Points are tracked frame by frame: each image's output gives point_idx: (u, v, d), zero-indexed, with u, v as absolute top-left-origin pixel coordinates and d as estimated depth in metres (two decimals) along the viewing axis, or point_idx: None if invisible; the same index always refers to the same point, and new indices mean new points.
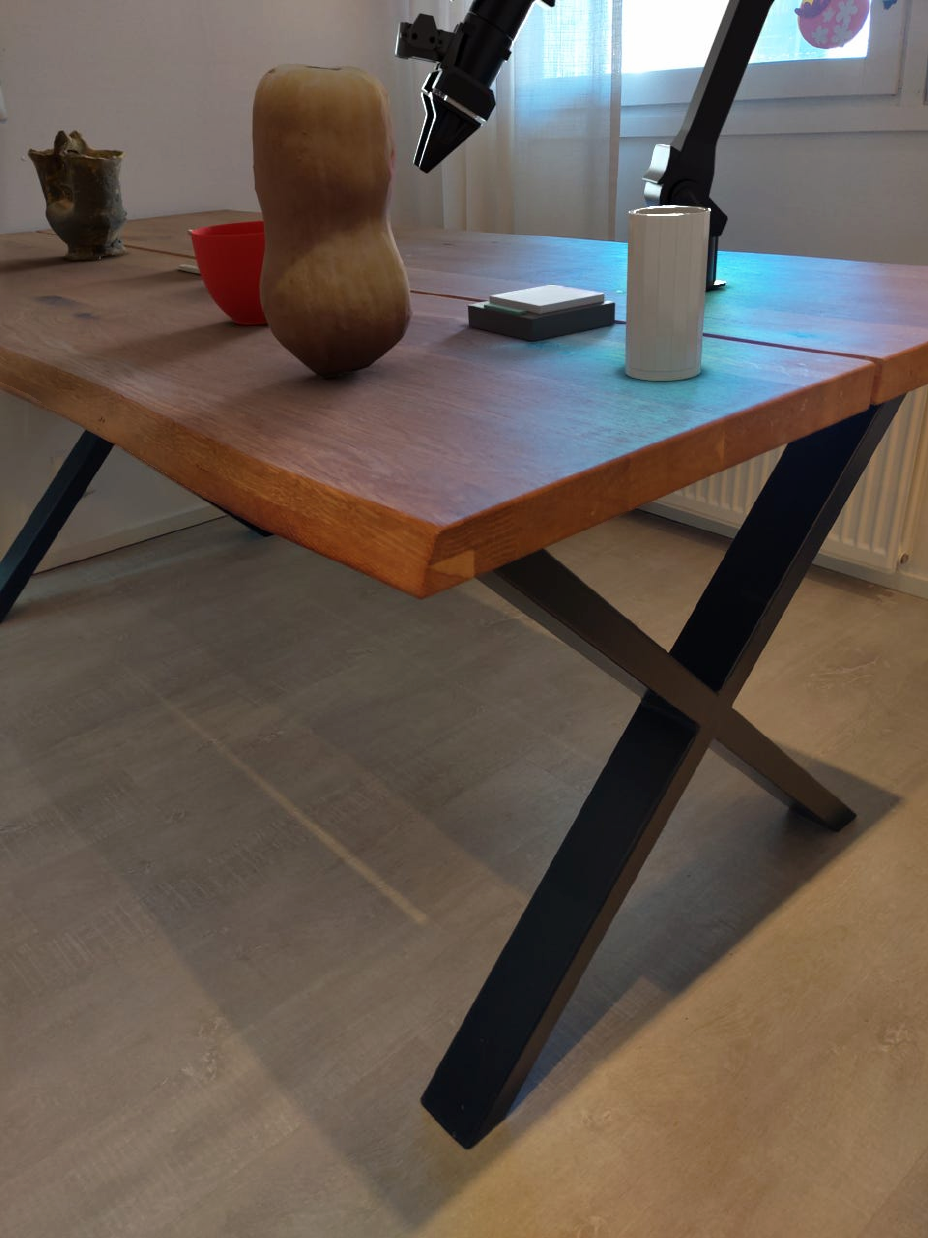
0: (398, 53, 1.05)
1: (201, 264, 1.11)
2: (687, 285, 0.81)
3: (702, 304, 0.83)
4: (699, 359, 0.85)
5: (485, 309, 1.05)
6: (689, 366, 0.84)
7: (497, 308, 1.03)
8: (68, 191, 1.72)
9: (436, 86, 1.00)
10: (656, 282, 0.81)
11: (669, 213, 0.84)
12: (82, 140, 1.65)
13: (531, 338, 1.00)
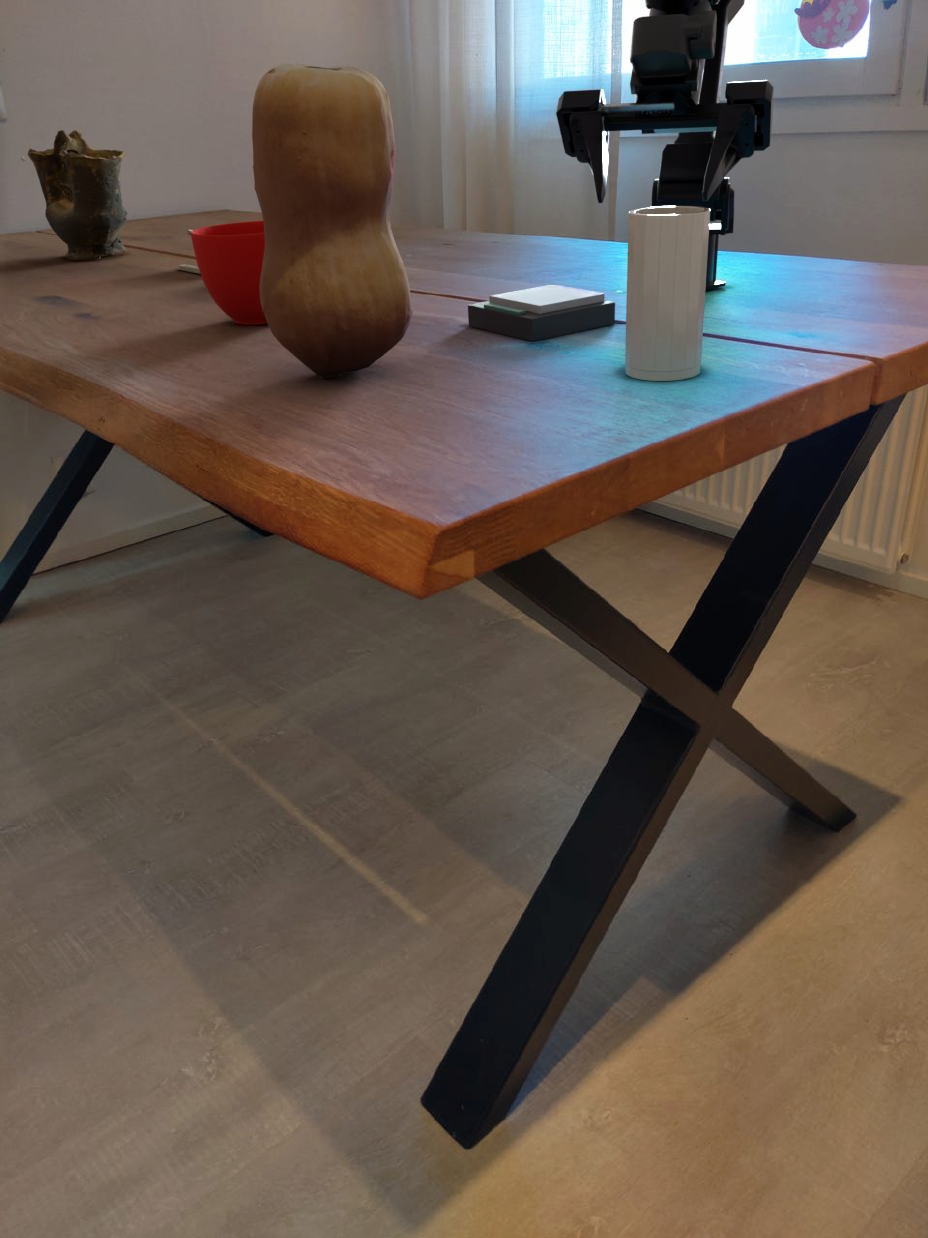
0: (682, 50, 0.83)
1: (201, 264, 1.11)
2: (687, 285, 0.81)
3: (702, 304, 0.83)
4: (699, 359, 0.85)
5: (485, 309, 1.05)
6: (689, 366, 0.84)
7: (497, 308, 1.03)
8: (68, 191, 1.72)
9: (766, 97, 0.85)
10: (656, 282, 0.81)
11: (669, 213, 0.84)
12: (82, 140, 1.65)
13: (531, 338, 1.00)
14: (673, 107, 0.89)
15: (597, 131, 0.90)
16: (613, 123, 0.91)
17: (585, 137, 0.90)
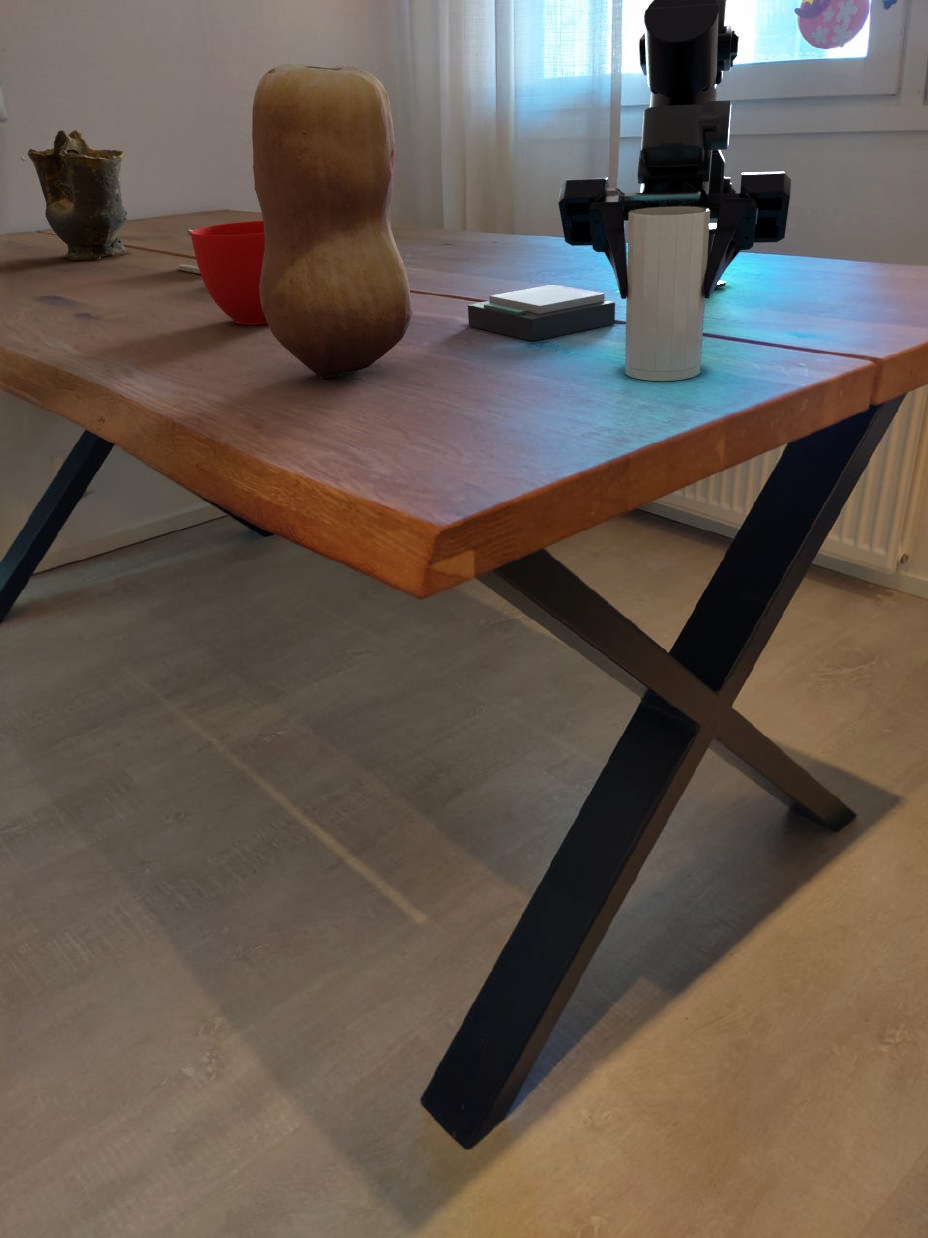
0: (697, 143, 0.78)
1: (201, 264, 1.11)
2: (687, 285, 0.81)
3: (702, 304, 0.83)
4: (699, 359, 0.85)
5: (485, 309, 1.05)
6: (689, 366, 0.84)
7: (497, 308, 1.03)
8: (68, 191, 1.72)
9: (785, 191, 0.80)
10: (656, 282, 0.81)
11: (669, 213, 0.84)
12: (82, 140, 1.65)
13: (531, 338, 1.00)
14: (698, 198, 0.83)
15: (618, 223, 0.84)
16: None
17: (605, 229, 0.84)
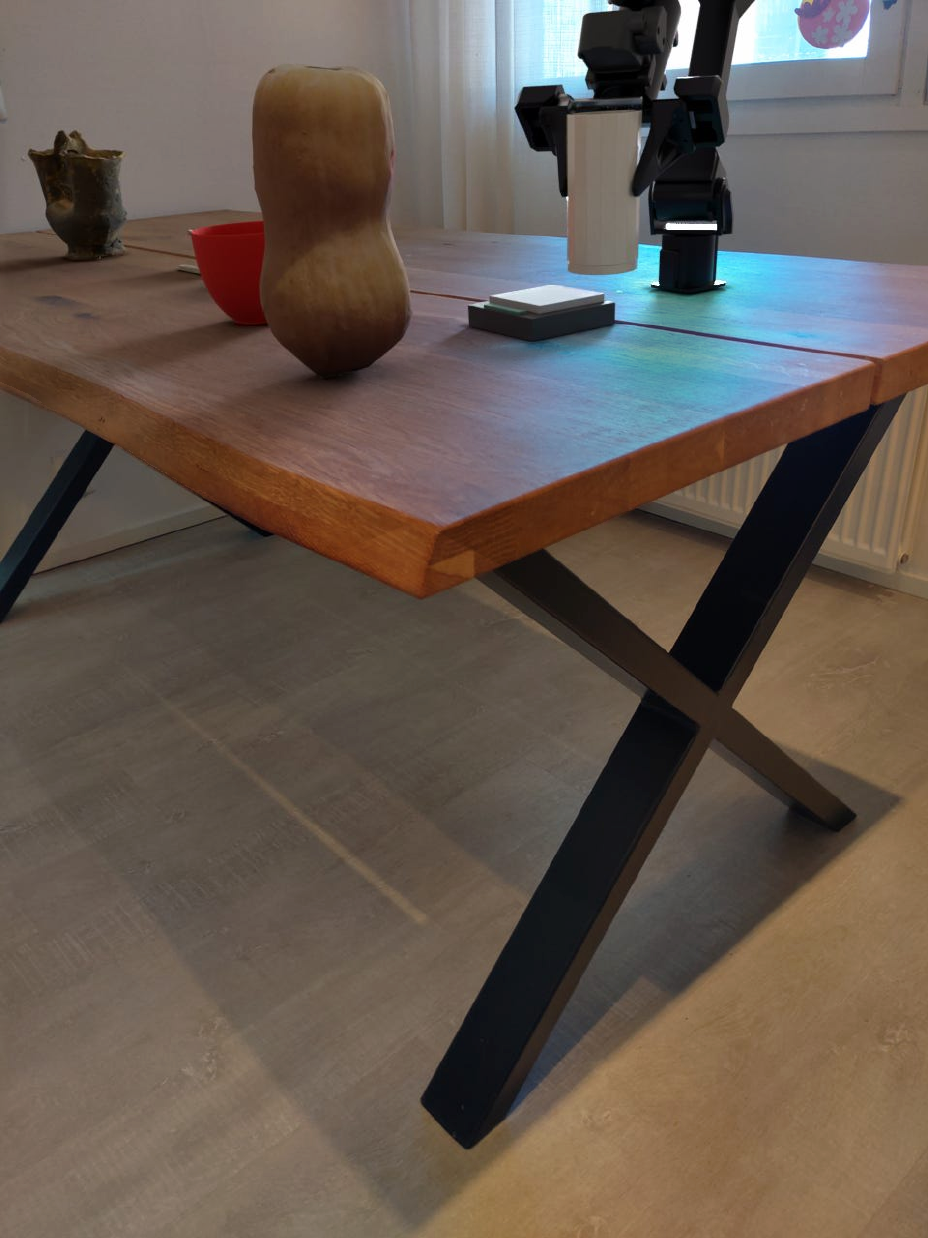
0: (625, 46, 0.84)
1: (201, 264, 1.11)
2: (613, 182, 0.87)
3: (633, 202, 0.89)
4: (632, 256, 0.91)
5: (485, 309, 1.05)
6: (619, 262, 0.90)
7: (497, 308, 1.03)
8: (68, 191, 1.72)
9: (712, 93, 0.84)
10: (585, 179, 0.87)
11: None
12: (82, 140, 1.65)
13: (531, 338, 1.00)
14: (641, 102, 0.89)
15: (564, 126, 0.90)
16: None
17: (553, 131, 0.91)
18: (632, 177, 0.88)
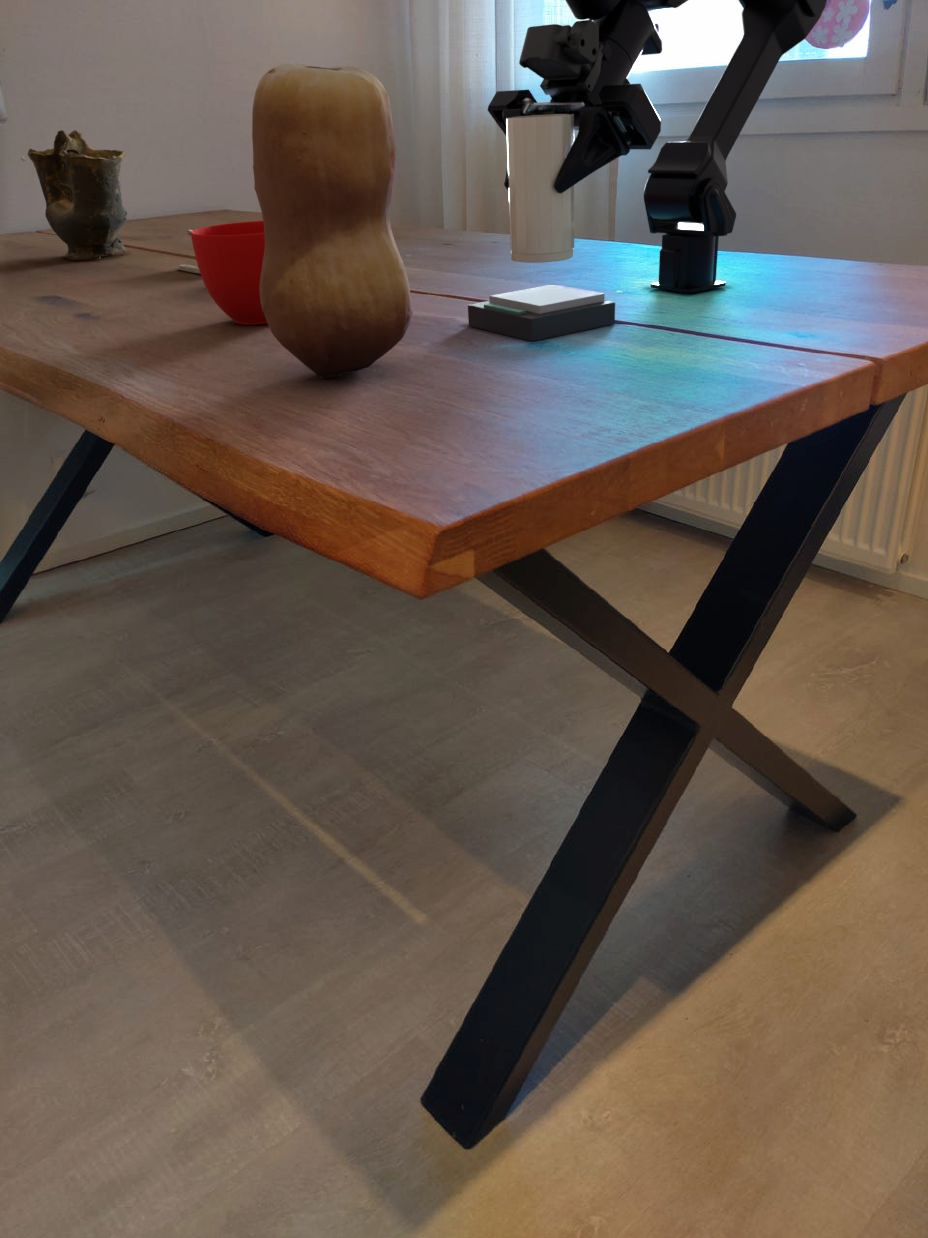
0: (550, 57, 0.93)
1: (201, 264, 1.11)
2: (536, 179, 0.97)
3: (558, 198, 0.98)
4: (559, 247, 1.00)
5: (485, 309, 1.05)
6: (544, 251, 1.00)
7: (497, 308, 1.03)
8: (68, 191, 1.72)
9: (625, 100, 0.92)
10: (514, 175, 0.98)
11: None
12: (82, 140, 1.65)
13: (531, 338, 1.00)
14: (582, 107, 0.97)
15: None
16: None
17: None
18: (556, 175, 0.97)
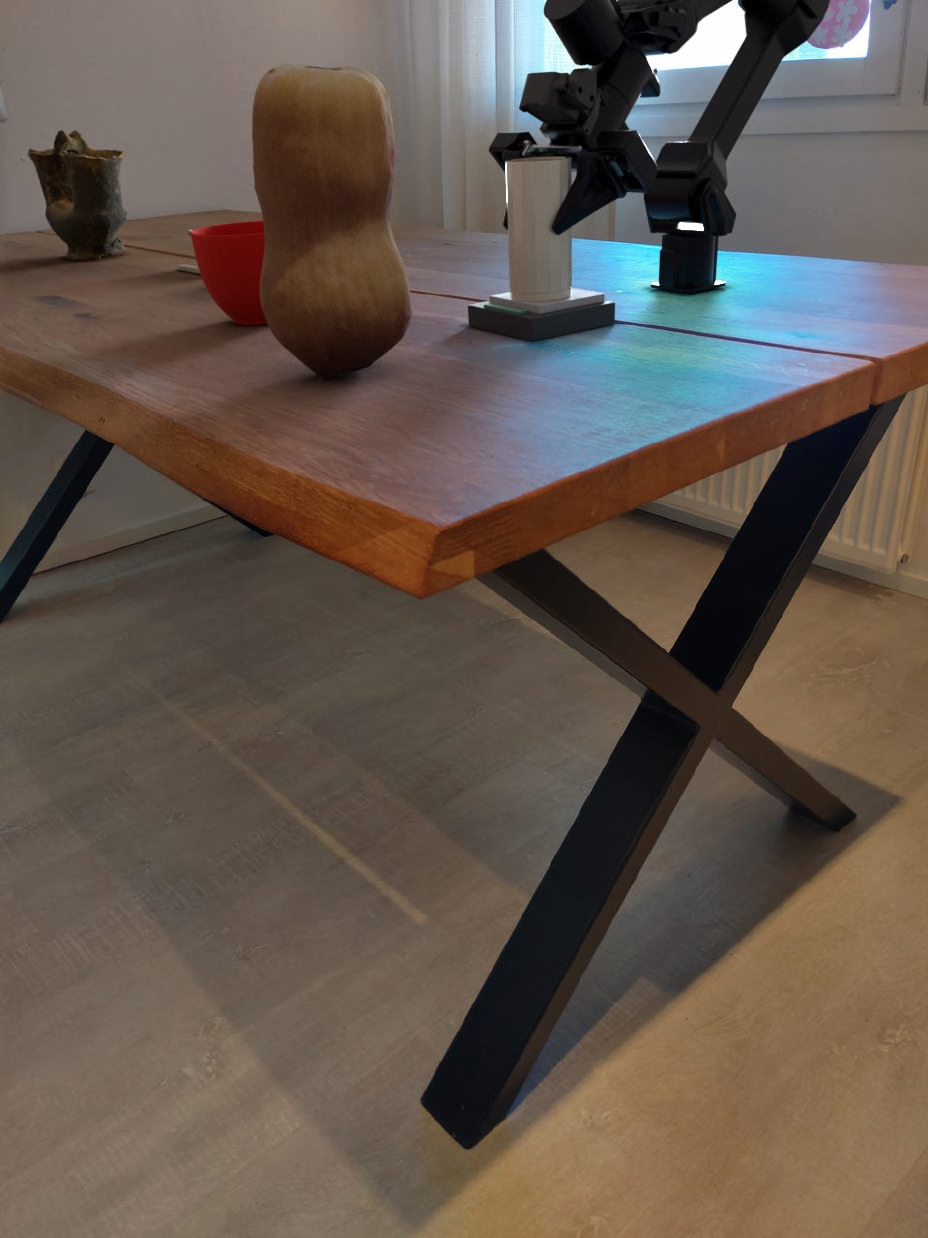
0: (548, 103, 0.95)
1: (201, 264, 1.11)
2: (534, 221, 0.99)
3: (555, 239, 1.00)
4: (556, 286, 1.02)
5: (485, 309, 1.05)
6: (542, 291, 1.02)
7: (497, 308, 1.03)
8: (68, 191, 1.72)
9: (621, 146, 0.94)
10: (512, 217, 1.00)
11: None
12: (82, 140, 1.65)
13: (531, 338, 1.00)
14: (580, 150, 1.00)
15: None
16: None
17: None
18: (553, 217, 0.99)
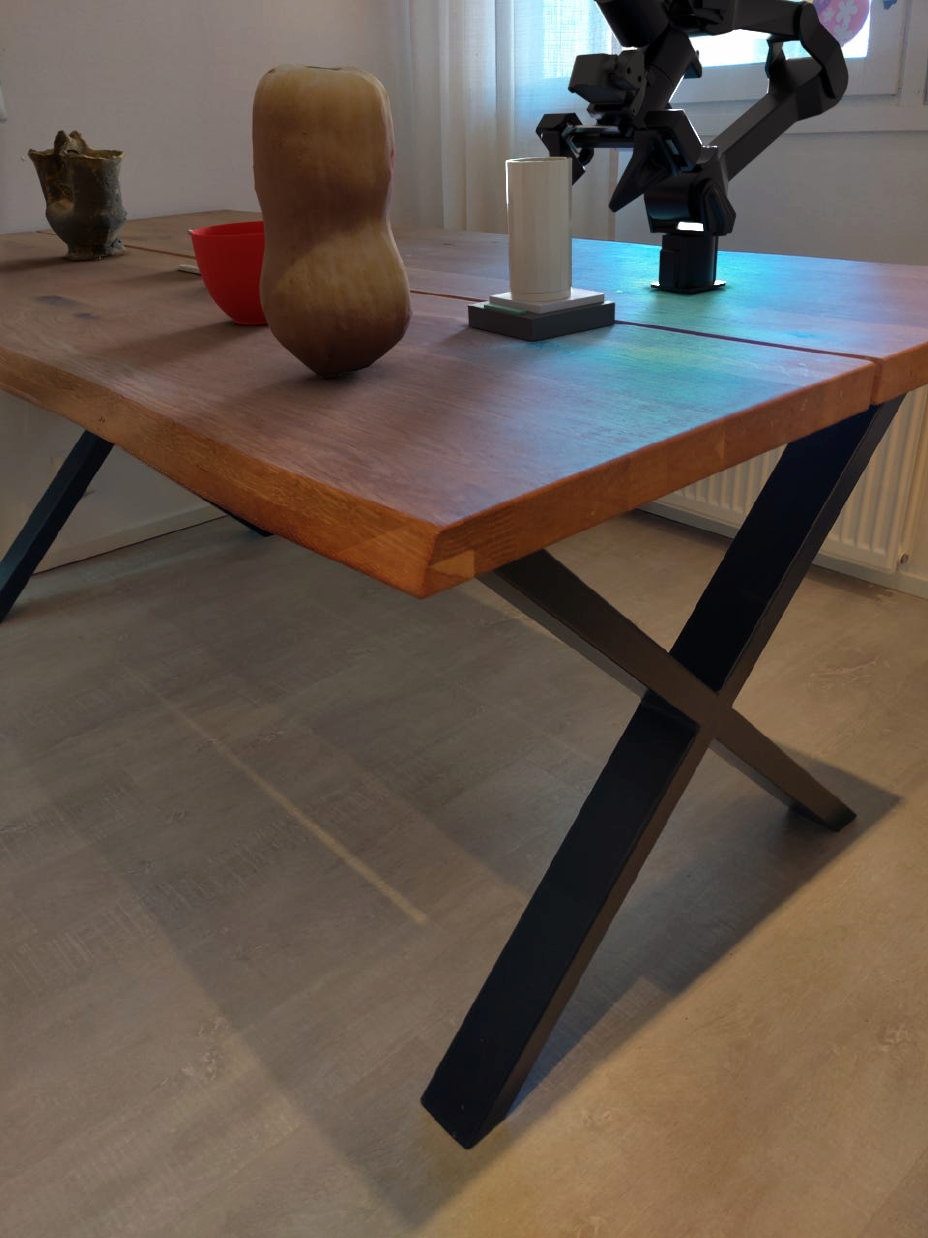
0: (598, 84, 0.99)
1: (201, 264, 1.11)
2: (534, 221, 0.99)
3: (555, 239, 1.00)
4: (556, 287, 1.02)
5: (485, 309, 1.05)
6: (542, 291, 1.02)
7: (497, 308, 1.03)
8: (68, 191, 1.72)
9: (668, 125, 0.97)
10: (513, 217, 1.00)
11: None
12: (82, 140, 1.65)
13: (531, 338, 1.00)
14: (617, 130, 1.04)
15: (556, 148, 1.07)
16: (580, 141, 1.08)
17: (549, 153, 1.08)
18: (554, 217, 0.99)
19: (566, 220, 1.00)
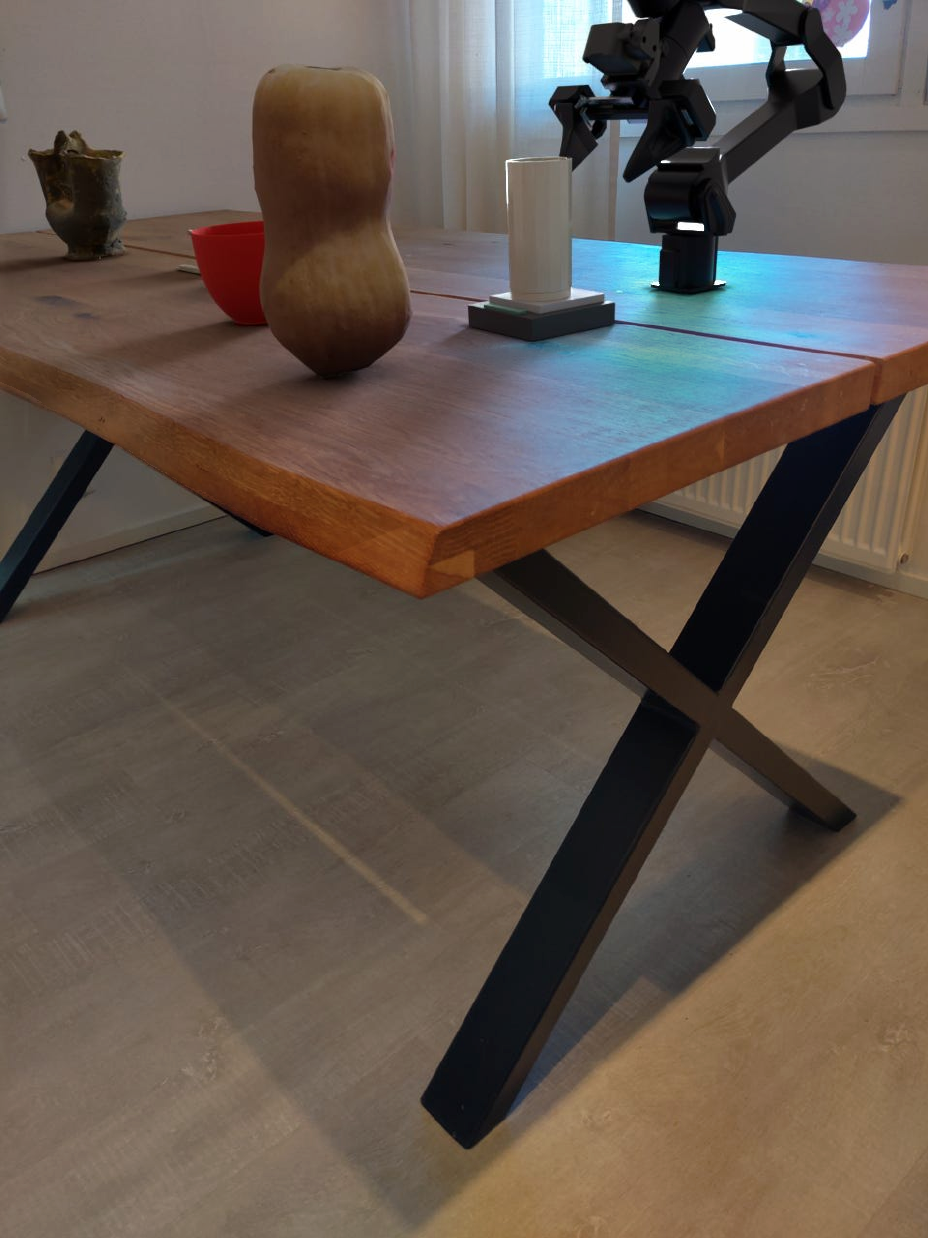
0: (613, 53, 0.98)
1: (201, 264, 1.11)
2: (534, 221, 0.99)
3: (555, 239, 1.00)
4: (556, 287, 1.02)
5: (485, 309, 1.05)
6: (542, 291, 1.02)
7: (497, 308, 1.03)
8: (68, 191, 1.72)
9: (684, 94, 0.97)
10: (513, 217, 1.00)
11: None
12: (82, 140, 1.65)
13: (531, 338, 1.00)
14: (631, 101, 1.04)
15: (570, 120, 1.07)
16: (593, 113, 1.08)
17: (562, 125, 1.08)
18: (554, 217, 0.99)
19: (566, 220, 1.00)
